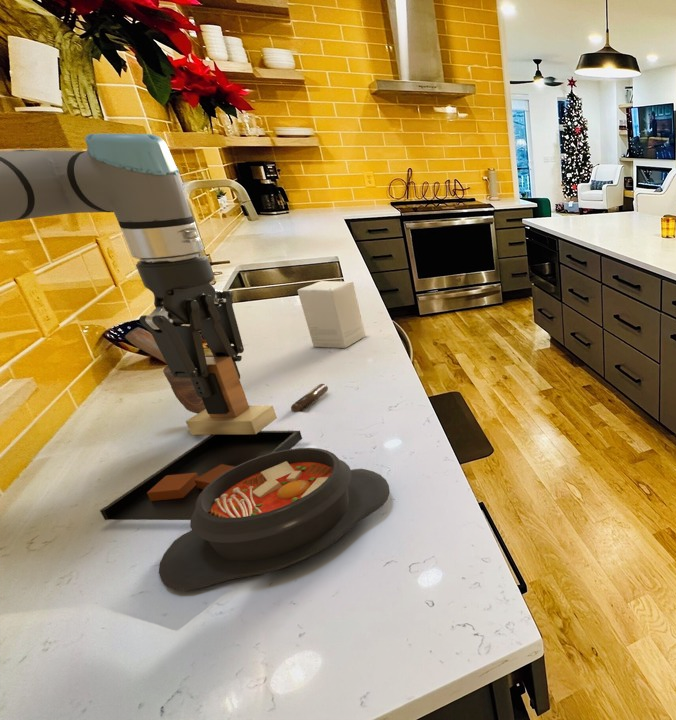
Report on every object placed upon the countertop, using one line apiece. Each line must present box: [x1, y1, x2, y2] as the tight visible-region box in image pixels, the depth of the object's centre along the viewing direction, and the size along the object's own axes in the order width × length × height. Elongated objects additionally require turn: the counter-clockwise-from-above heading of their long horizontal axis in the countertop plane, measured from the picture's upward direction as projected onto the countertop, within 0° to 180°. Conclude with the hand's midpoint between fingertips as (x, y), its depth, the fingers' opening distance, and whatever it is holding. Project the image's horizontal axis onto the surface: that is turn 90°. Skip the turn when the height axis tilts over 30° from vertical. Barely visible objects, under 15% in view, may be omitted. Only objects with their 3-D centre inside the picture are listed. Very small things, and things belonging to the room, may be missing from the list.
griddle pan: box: [99, 383, 329, 521], centre depth 84 cm, size 14×39×3 cm, turn 0°
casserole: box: [158, 447, 390, 591], centre depth 64 cm, size 25×19×8 cm
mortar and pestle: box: [124, 326, 214, 415], centre depth 85 cm, size 12×9×20 cm
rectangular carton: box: [296, 280, 367, 349], centre depth 126 cm, size 9×9×15 cm
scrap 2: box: [194, 464, 234, 489], centre depth 73 cm, size 4×4×2 cm
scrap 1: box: [147, 473, 199, 501], centre depth 72 cm, size 4×4×2 cm
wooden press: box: [185, 357, 278, 436], centre depth 77 cm, size 10×5×11 cm, turn 90°
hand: (227, 406), depth 78 cm, fingers closed on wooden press, 3 cm apart
